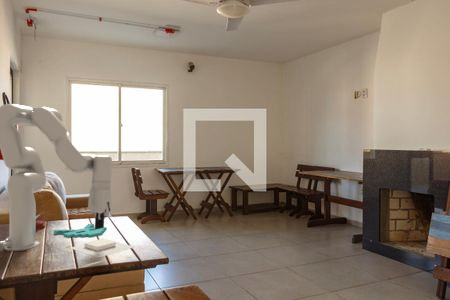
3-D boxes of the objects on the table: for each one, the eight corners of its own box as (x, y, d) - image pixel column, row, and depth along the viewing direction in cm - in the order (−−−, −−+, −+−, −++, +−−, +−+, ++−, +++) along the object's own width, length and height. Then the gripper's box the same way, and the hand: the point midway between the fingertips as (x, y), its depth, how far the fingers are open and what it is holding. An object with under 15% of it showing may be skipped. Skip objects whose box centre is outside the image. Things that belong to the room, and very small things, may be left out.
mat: (98, 259, 133) (98, 257, 133) (68, 249, 145) (68, 247, 145) (135, 248, 148) (135, 246, 148) (105, 240, 159) (105, 238, 159)
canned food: (36, 239, 176) (30, 223, 172) (22, 234, 180) (15, 219, 175) (53, 224, 186) (48, 209, 181) (39, 220, 189) (33, 206, 184)
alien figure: (54, 234, 169) (76, 242, 157) (54, 230, 169) (76, 237, 157) (91, 227, 185) (114, 234, 173) (91, 223, 185) (114, 229, 173)
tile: (84, 247, 146) (97, 251, 141) (84, 242, 146) (97, 246, 141) (102, 242, 153) (115, 246, 148) (102, 238, 153) (115, 242, 148)
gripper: (82, 183, 148) (80, 226, 148) (104, 187, 139) (102, 233, 139) (98, 182, 154) (96, 223, 154) (120, 186, 145) (117, 230, 146)
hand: (99, 228), depth 147 cm, fingers closed
